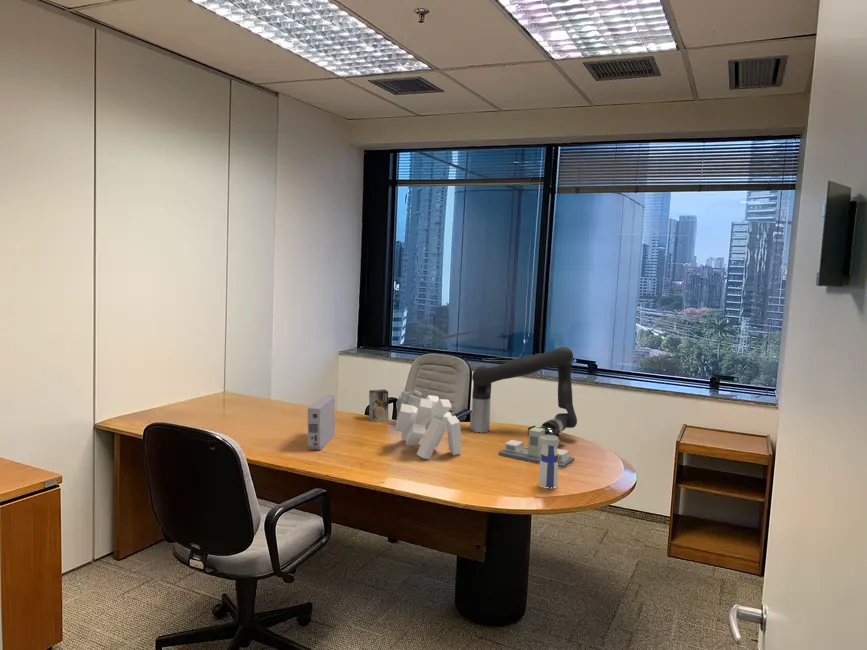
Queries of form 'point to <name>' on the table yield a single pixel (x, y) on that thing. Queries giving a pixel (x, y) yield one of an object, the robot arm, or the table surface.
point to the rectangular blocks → (518, 445)
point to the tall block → (535, 441)
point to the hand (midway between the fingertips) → (537, 435)
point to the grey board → (531, 458)
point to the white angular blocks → (429, 425)
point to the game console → (321, 422)
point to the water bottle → (549, 461)
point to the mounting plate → (525, 452)
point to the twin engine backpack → (409, 399)
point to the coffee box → (378, 405)
